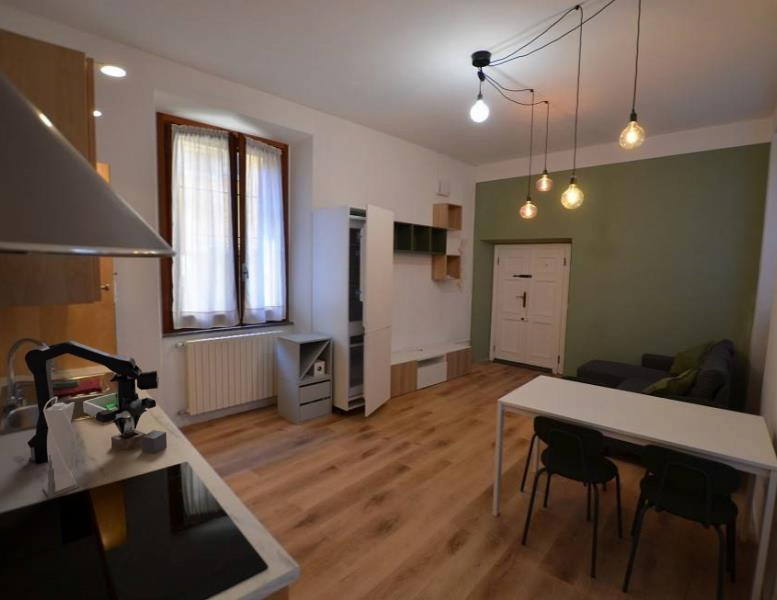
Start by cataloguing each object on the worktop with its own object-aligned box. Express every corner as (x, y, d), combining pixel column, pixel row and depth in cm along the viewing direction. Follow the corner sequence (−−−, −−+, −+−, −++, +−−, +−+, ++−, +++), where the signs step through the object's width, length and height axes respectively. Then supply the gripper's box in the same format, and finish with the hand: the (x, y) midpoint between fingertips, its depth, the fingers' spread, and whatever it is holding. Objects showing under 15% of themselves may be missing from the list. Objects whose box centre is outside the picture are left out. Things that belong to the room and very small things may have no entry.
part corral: (107, 421, 166) (106, 410, 166) (83, 412, 175) (82, 401, 175) (140, 411, 178) (140, 400, 178) (116, 402, 188) (116, 392, 187)
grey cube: (154, 454, 141) (154, 438, 140) (141, 452, 142) (141, 436, 141) (166, 447, 146) (166, 432, 146) (154, 445, 148) (153, 430, 147)
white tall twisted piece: (42, 487, 119) (36, 399, 116) (74, 476, 126) (70, 392, 123) (49, 498, 114) (43, 406, 111) (83, 485, 121) (78, 399, 118)
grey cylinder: (125, 440, 143) (125, 419, 143) (119, 437, 145) (119, 417, 144) (137, 436, 147) (136, 415, 146) (131, 433, 149) (130, 413, 148)
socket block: (123, 452, 141) (123, 442, 141) (111, 447, 145) (111, 436, 144) (146, 443, 148) (145, 433, 148) (133, 438, 152) (133, 428, 152)
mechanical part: (105, 409, 180) (105, 392, 179) (121, 406, 184) (120, 389, 183) (112, 417, 171) (111, 399, 171) (127, 413, 176) (127, 396, 175)
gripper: (111, 403, 132) (113, 446, 134) (164, 388, 149) (165, 427, 150) (93, 397, 137) (95, 439, 139) (147, 383, 154) (148, 420, 156)
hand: (128, 431), depth 146 cm, fingers closed on grey cylinder, 4 cm apart
